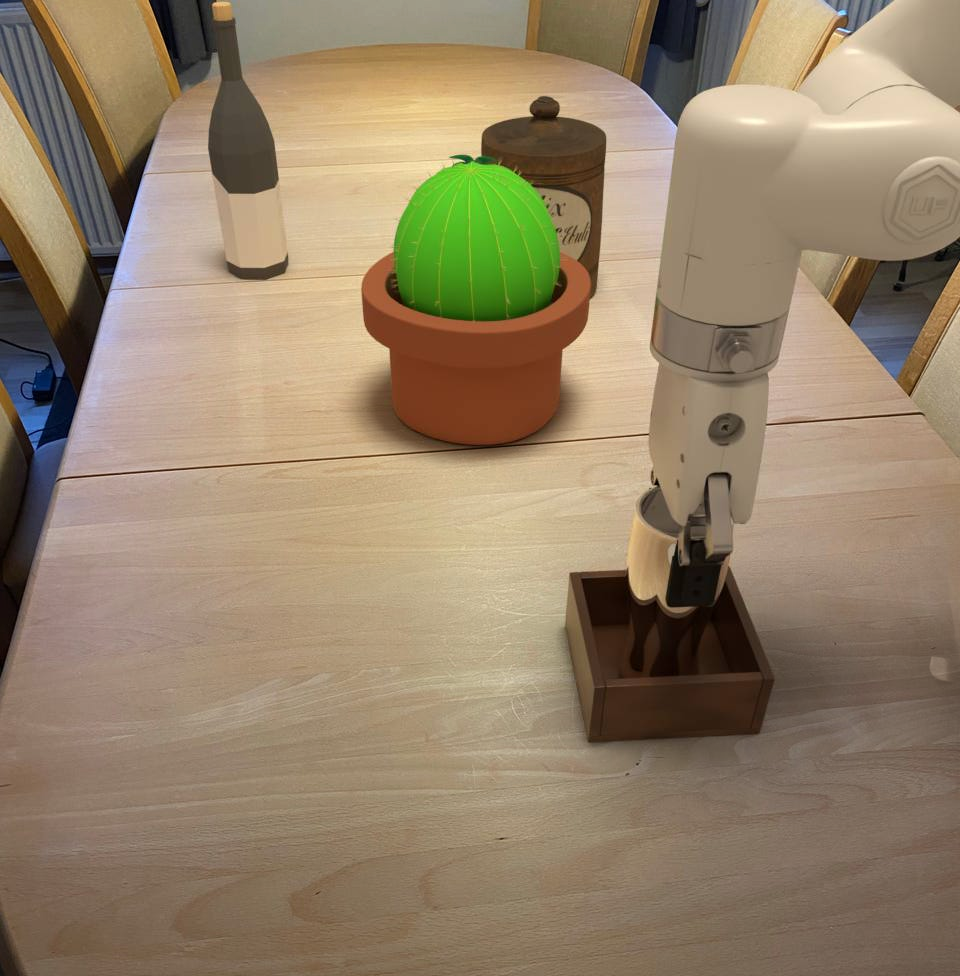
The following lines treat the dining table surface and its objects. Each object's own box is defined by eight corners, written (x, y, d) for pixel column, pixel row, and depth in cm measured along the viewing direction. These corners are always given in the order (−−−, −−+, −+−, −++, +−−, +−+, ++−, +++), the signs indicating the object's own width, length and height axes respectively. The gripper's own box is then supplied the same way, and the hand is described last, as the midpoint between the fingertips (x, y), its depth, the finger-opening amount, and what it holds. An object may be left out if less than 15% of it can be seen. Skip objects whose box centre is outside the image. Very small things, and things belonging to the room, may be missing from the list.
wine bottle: (296, 275, 133) (265, 8, 113) (234, 284, 131) (191, 14, 111) (281, 251, 139) (249, -7, 118) (222, 260, 136) (178, -2, 116)
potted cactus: (531, 481, 98) (544, 216, 81) (333, 429, 105) (307, 175, 88) (608, 380, 113) (632, 137, 96) (430, 340, 120) (424, 107, 103)
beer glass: (676, 717, 75) (707, 555, 65) (595, 677, 78) (613, 515, 68) (720, 664, 79) (756, 504, 69) (642, 628, 82) (665, 469, 72)
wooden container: (467, 304, 127) (466, 111, 112) (495, 257, 137) (497, 75, 123) (586, 317, 124) (601, 122, 109) (604, 268, 135) (621, 84, 120)
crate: (717, 618, 84) (729, 565, 80) (760, 733, 75) (775, 678, 71) (564, 625, 83) (569, 571, 79) (588, 742, 74) (594, 687, 70)
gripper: (828, 401, 53) (763, 650, 65) (742, 265, 66) (700, 495, 78) (686, 406, 53) (647, 656, 65) (626, 268, 66) (603, 498, 78)
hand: (676, 566), depth 72 cm, fingers closed on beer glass, 7 cm apart
